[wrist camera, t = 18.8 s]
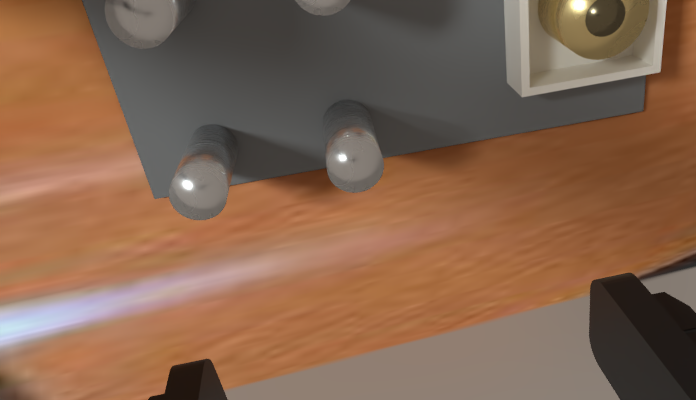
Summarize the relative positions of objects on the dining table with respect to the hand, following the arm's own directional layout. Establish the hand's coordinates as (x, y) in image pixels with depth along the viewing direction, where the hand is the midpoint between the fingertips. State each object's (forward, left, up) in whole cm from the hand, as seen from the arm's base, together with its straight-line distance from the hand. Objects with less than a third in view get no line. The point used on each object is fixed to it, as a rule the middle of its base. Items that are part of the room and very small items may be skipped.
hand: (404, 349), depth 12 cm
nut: (0, +15, -27) cm, 31 cm away
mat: (+1, +3, -28) cm, 28 cm away
